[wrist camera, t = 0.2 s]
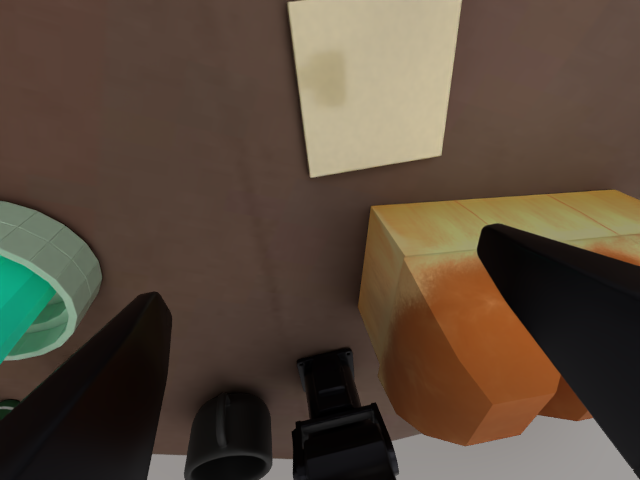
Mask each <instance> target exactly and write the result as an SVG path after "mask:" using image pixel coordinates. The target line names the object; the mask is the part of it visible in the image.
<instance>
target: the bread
mask: <svg viewBox="0 0 640 480" xmlns="http://www.w3.org/2000/svg"><path fill="white" fill-rule="evenodd" d="M495 223H500V224H504V225H507V226H510V227H513V228H517V229H520V230H523V231H526V232H530V233H533V234H536V235H540V236H543V237H546V238H549V239H553V240H556V241H559V242H562V243H566V244H569V245H572V246H575V247H579V248H582V249H585V250H588V251H592V252H595V253H598V254H602V255H605V256H608V257H611V258H615V259H618V260H621V261H624V262H628V263H631V264H634V265H637V266H640V200H638V199H635V198H633V197H631V196H628V195H626V194H623V193H621V192H619V191H616V190H600V191H585V192H570V193H556V194H541V195H526V196H511V197H496V198H482V199H467V200H452V201H437V202H422V203H408V204H393V205H378V206H371V210H370V218H369V226H368V233H367V241H366V249H365V257H364V264H363V272H362V280H361V288H360V295H359V303H358V308H359V311H360V314H361V316H362V319H363V322H364V324H365V327H366V330H367V332H368V335H369V337H370V340H371V343H372V345H373V348H374V351H375V353H376V356H377V359H378V361H379V364H380V368H379V372H378V378H379V380H380V382H381V384H382V386H383V388H384V390H385V392H386V394H387V396H388V398H389V400H390V402H391V404H392V406H393V408H394V410H395V412H396V414H397V415H399V416H400V417H401V418H403V419H404V420H405V421H407V422H408V423H409V424H411V425H412V426H413V427H414V428H416V429H417V430H418V431H420V432H421V433H422V434H424V435H426V436H431V437H434V438H438V439H441V440H444V441H448V442H452V443H455V444H459V445H463V446H469V445H474V444H479V443H484V442H488V441H493V440H497V439H503V438H507V437H512V436H517V435H521V433H522V432H523V431H524V430H525V428H526V427H527V426H528V425H529V424H530V423H531V422H532V420H533V419H534V418H535V417H536V415H542V416H548V417H554V418H560V419H567V420H573V421H580V420H585V419H590V418H593V417H592V415H591V414H590V413H589V411H588V410H587V409H586V407H585V406H584V405H583V404H582V402H581V401H580V400H579V398H578V397H577V396H576V394H575V393H574V392H573V390H572V389H571V388H570V386H569V385H568V384H567V382H566V381H565V380H564V378H563V377H562V376H561V374H560V373H559V372H558V370H557V369H556V368H555V366H554V365H553V364H552V363H551V361H550V360H549V359H548V357H547V356H546V355H545V353H544V352H543V351H542V349H541V348H540V347H539V345H538V344H537V343H536V341H535V340H534V339H533V337H532V336H531V335H530V333H529V332H528V331H527V329H526V328H525V327H524V325H523V324H522V323H521V322H520V320H519V319H518V318H517V316H516V315H515V314H514V312H513V311H512V310H511V308H510V307H509V306H508V304H507V303H506V301H505V300H504V298H503V297H502V295H501V294H500V292H499V290H498V289H497V287H496V286H495V284H494V282H493V281H492V279H491V277H490V276H489V274H488V272H487V271H486V269H485V267H484V266H483V264H482V262H481V261H480V259H479V257H478V255H477V245H478V241H479V237H480V233H481V230H482V228H483V227H484V226H486V225H490V224H495Z"/></svg>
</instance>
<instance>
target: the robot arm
mask: <svg viewBox="0 0 640 480" xmlns="http://www.w3.org/2000/svg"><path fill="white" fill-rule="evenodd" d="M477 255H478V257H479V259H480V261H481V262H482V264H483V266H484V267H485V269H486V271H487V272H488V274H489V276H490V277H491V279H492V281H493V282H494V284H495V286H496V287H497V289H498V290H499V292H500V294H501V295H502V297H503V298H504V300H505V301H506V303H507V304H508V306H509V307H510V308H511V310H512V311H513V312H514V314H515V315H516V316H517V318H518V319H519V320H520V322H521V323H522V324H523V325H524V327H525V328H526V329H527V331H528V332H529V333H530V335H531V336H532V337H533V339H534V340H535V341H536V343H537V344H538V345H539V347H540V348H541V349H542V351H543V352H544V353H545V355H546V356H547V357H548V359H549V360H550V361H551V363H552V364H553V365H554V366H555V368H556V369H557V370H558V372H559V373H560V374H561V376H562V377H563V378H564V380H565V381H566V382H567V384H568V385H569V386H570V388H571V389H572V390H573V392H574V393H575V394H576V396H577V397H578V398H579V400H580V401H581V402H582V404H583V405H584V406H585V407H586V409H587V410H588V411H589V413H590V414H591V415H592V417H593V418H594V419H595V421H596V422H597V423H598V425H599V426H600V427H601V429H602V430H603V431H604V432H605V434H606V435H607V437H608V438H609V439H610V441H611V442H612V443H613V444H614V446H615V447H616V448H617V450H618V451H619V452H620V454H621V455H622V456H623V458H624V459H625V460H626V462H627V463H628V464H629V466H630V467H631V468H632V469H634V470H633V471H634V473H635V474H636V475H637V477H638V478H639V479H640V266H637V265H634V264H631V263H628V262H624V261H621V260H618V259H615V258H611V257H608V256H605V255H602V254H598V253H595V252H592V251H588V250H585V249H582V248H579V247H575V246H572V245H569V244H566V243H562V242H559V241H556V240H553V239H549V238H546V237H543V236H540V235H536V234H533V233H530V232H526V231H523V230H520V229H517V228H513V227H510V226H507V225H504V224H500V223H495V224H490V225H486V226H484V227H483V228H482V230H481V233H480V237H479V241H478V245H477ZM171 329H172V315H171V312H170V310H169V309H168V307H167V305H166V304H165V302H164V300H163V299H162V297H161V295H160V294H159V293H158V292H149V293H144V294H140V295H139V296H137V297H136V298H135V299H134V300H133V301H132V302H131V303H130V304H128V305H127V306H126V307H125V308H124V309H123V310H122V311H121V312H120V313H119V314H117V315H116V316H115V317H114V318H113V319H112V320H111V321H110V322H109V323H107V324H106V325H105V326H104V327H103V328H102V329H101V330H100V331H99V332H98V333H96V334H95V335H94V336H93V337H92V338H91V339H90V340H89V341H88V342H86V343H85V344H84V345H83V346H82V347H81V348H80V349H79V350H78V351H76V352H75V353H74V354H73V355H72V356H71V357H70V358H69V359H68V360H67V361H65V362H64V363H63V364H62V365H61V366H60V367H59V368H58V369H57V370H55V371H54V372H53V373H52V374H51V375H50V376H49V377H48V378H47V379H45V380H44V381H43V382H42V383H41V384H40V385H39V386H38V387H37V388H36V389H34V390H33V391H32V392H31V393H30V394H29V395H28V396H27V397H26V398H24V399H23V400H22V401H21V402H20V403H19V404H18V405H17V406H16V407H14V408H13V409H12V410H11V411H10V412H9V413H8V414H7V415H6V416H5V417H3V418H2V419H1V420H0V480H147V476H148V471H149V466H150V461H151V456H152V451H153V446H154V441H155V436H156V431H157V426H158V421H159V416H160V411H161V406H162V401H163V396H164V391H165V386H166V381H167V375H168V366H169V353H170V341H171ZM297 367H298V371H299V374H300V378H301V382H302V386H303V390H304V392H306V396H307V403H308V410H309V418H310V419H309V420H305V421H297V422H296V429H294V430H293V431H292V439H293V478H294V480H396V478H395V476H396V475H398V474H399V470H398V464H397V459H396V455H395V451H394V448H393V445H392V442H391V439H390V436H389V434H388V431H387V429H386V426H385V424H384V421H383V419H382V416H381V414H380V411H379V409H378V406H377V404H376V402H375V403H371V405H367V406H363V407H362V406H361V403H360V399H359V396H358V392H357V389H356V385H355V382H354V368H353V353H352V350H351V349H349V348H348V349H343V350H339V351H334V352H330V353H325V354H321V355H316V356H312V357H307V358H303V359H299V360H298V361H297Z"/></svg>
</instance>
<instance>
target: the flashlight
mask: <svg viewBox="0 0 640 480" xmlns="http://www.w3.org/2000/svg"><path fill="white" fill-rule="evenodd" d="M19 403H20V402H19V401H16V400H5V401H2V402H0V420H1V419H2V418H3V417H5V416H6V415H7V414H8V413H9V412H10V411H11V410H12V409H13V408H14V407H16V406H17V405H18V404H19Z"/></svg>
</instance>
